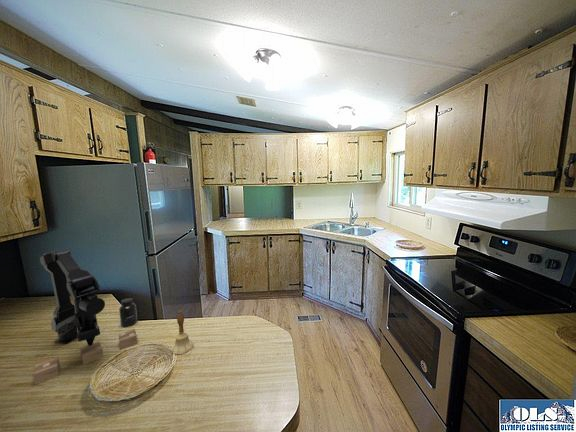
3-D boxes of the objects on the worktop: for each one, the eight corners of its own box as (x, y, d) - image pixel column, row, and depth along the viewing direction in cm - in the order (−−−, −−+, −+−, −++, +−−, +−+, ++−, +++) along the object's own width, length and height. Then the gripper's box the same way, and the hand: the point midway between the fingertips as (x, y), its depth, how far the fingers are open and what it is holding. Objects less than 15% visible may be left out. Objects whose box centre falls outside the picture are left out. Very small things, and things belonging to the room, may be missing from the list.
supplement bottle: (129, 328, 114) (126, 304, 113) (117, 326, 116) (114, 303, 114) (141, 320, 121) (138, 297, 120) (129, 318, 123) (126, 296, 121)
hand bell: (182, 339, 104) (179, 304, 102) (198, 343, 101) (194, 307, 99) (166, 352, 97) (162, 314, 95) (182, 356, 94) (179, 318, 92)
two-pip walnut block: (119, 342, 104) (118, 333, 103) (135, 337, 108) (134, 328, 107) (120, 350, 99) (119, 340, 99) (137, 343, 103) (136, 334, 102)
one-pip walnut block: (37, 374, 87) (35, 364, 87) (60, 366, 91) (58, 356, 90) (34, 385, 83) (32, 374, 82) (58, 375, 86) (57, 365, 86)
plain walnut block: (81, 358, 95) (79, 348, 95) (100, 350, 100) (99, 341, 99) (83, 365, 91) (82, 355, 91) (103, 356, 96) (102, 347, 95)
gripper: (56, 306, 94) (62, 343, 96) (55, 326, 80) (62, 368, 83) (93, 296, 102) (98, 331, 104) (97, 313, 88) (103, 352, 90)
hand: (90, 345), depth 95 cm, fingers closed
